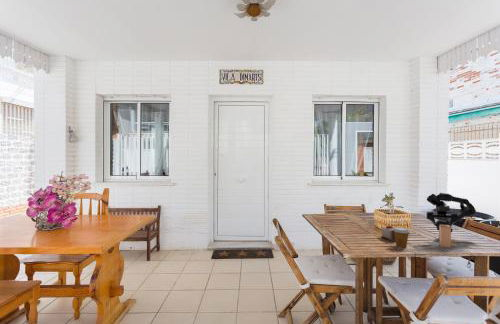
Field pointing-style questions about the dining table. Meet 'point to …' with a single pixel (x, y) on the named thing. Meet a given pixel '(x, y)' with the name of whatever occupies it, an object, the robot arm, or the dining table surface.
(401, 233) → the disposable coffee cup
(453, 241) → the beige wooden cube
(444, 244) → the tan tall block
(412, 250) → the dining table surface
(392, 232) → the food item
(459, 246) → the mat
